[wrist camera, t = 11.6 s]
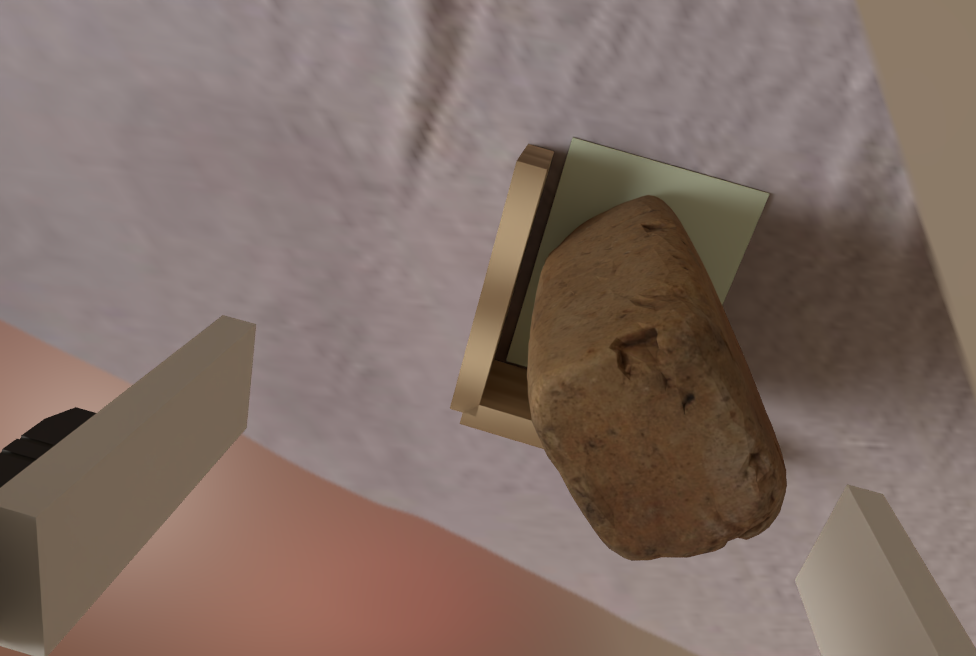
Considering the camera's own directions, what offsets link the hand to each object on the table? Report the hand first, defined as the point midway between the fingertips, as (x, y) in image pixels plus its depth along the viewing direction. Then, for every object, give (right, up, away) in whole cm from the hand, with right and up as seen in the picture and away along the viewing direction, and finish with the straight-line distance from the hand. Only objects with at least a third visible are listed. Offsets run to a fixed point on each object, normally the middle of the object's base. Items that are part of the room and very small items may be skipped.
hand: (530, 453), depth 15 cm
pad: (+7, +5, +26) cm, 27 cm away
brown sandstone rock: (+8, +5, +26) cm, 27 cm away
